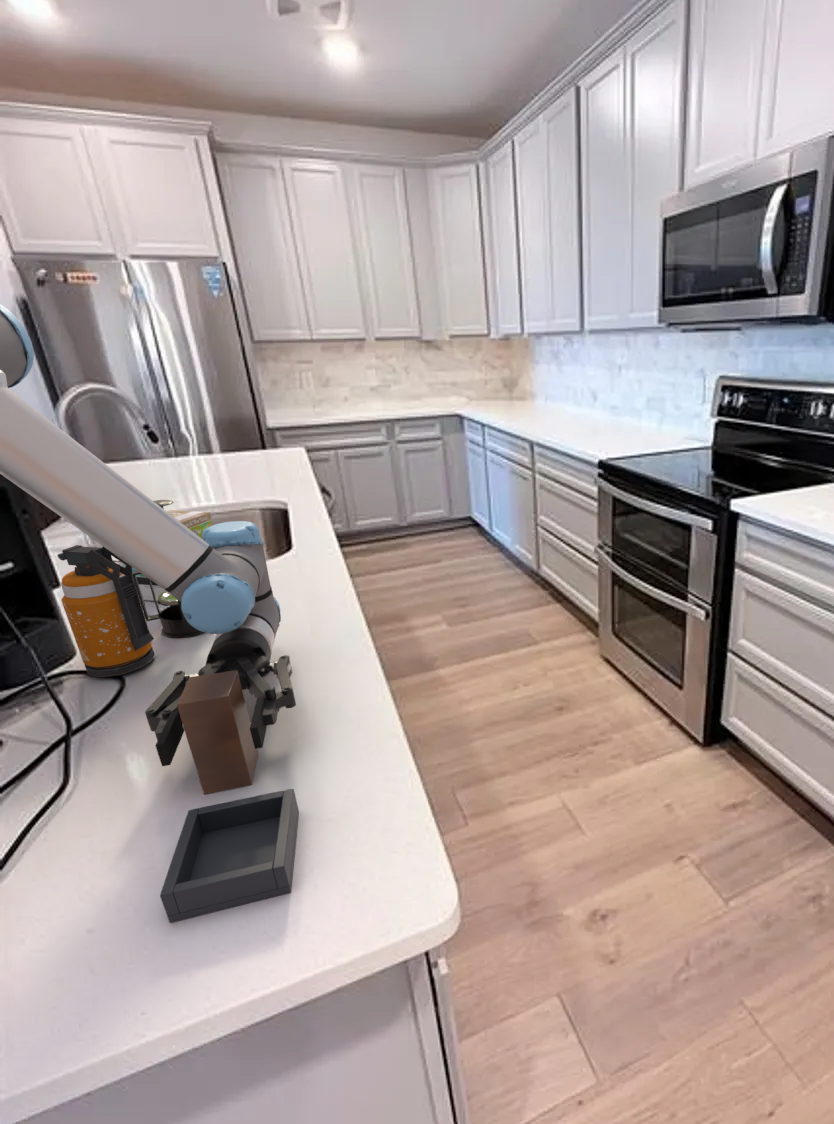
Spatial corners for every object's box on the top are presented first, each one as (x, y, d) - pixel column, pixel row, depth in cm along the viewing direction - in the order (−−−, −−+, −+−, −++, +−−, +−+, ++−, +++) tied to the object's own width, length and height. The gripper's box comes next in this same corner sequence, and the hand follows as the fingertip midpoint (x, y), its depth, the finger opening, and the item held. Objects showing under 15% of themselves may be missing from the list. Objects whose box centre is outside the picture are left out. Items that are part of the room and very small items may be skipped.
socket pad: (169, 923, 54) (159, 895, 53) (196, 834, 64) (188, 809, 63) (291, 892, 57) (284, 865, 56) (299, 812, 67) (293, 787, 65)
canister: (123, 650, 102) (85, 535, 95) (180, 656, 100) (146, 539, 92) (73, 677, 94) (27, 554, 86) (134, 684, 92) (93, 558, 84)
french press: (223, 610, 117) (193, 491, 108) (228, 628, 109) (196, 502, 100) (151, 625, 111) (113, 500, 102) (150, 645, 104) (109, 513, 95)
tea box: (175, 603, 120) (154, 530, 115) (130, 600, 122) (108, 528, 116) (226, 575, 134) (210, 509, 128) (186, 573, 136) (168, 508, 130)
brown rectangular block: (203, 794, 69) (176, 704, 65) (213, 762, 75) (189, 677, 70) (252, 785, 71) (228, 696, 66) (258, 754, 76) (237, 669, 72)
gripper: (326, 662, 90) (320, 754, 70) (163, 688, 84) (106, 796, 64) (317, 616, 87) (309, 698, 67) (148, 639, 81) (84, 737, 61)
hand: (210, 746), depth 66 cm, fingers open, 8 cm apart
